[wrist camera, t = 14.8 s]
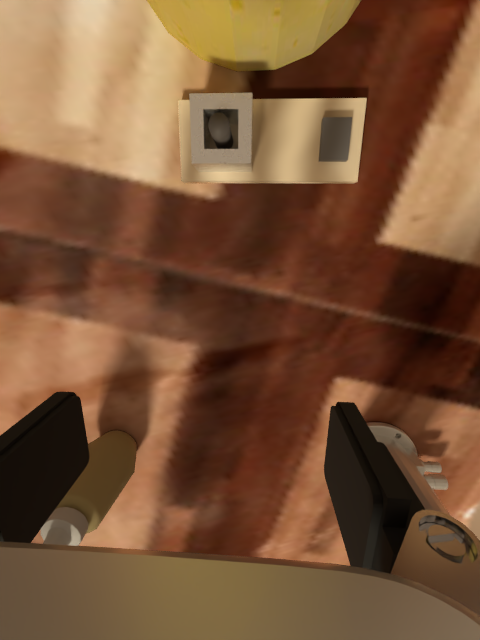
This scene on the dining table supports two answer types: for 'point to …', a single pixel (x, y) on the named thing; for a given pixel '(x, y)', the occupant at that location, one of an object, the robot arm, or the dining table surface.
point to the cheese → (253, 29)
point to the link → (238, 113)
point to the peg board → (286, 141)
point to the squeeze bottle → (92, 490)
